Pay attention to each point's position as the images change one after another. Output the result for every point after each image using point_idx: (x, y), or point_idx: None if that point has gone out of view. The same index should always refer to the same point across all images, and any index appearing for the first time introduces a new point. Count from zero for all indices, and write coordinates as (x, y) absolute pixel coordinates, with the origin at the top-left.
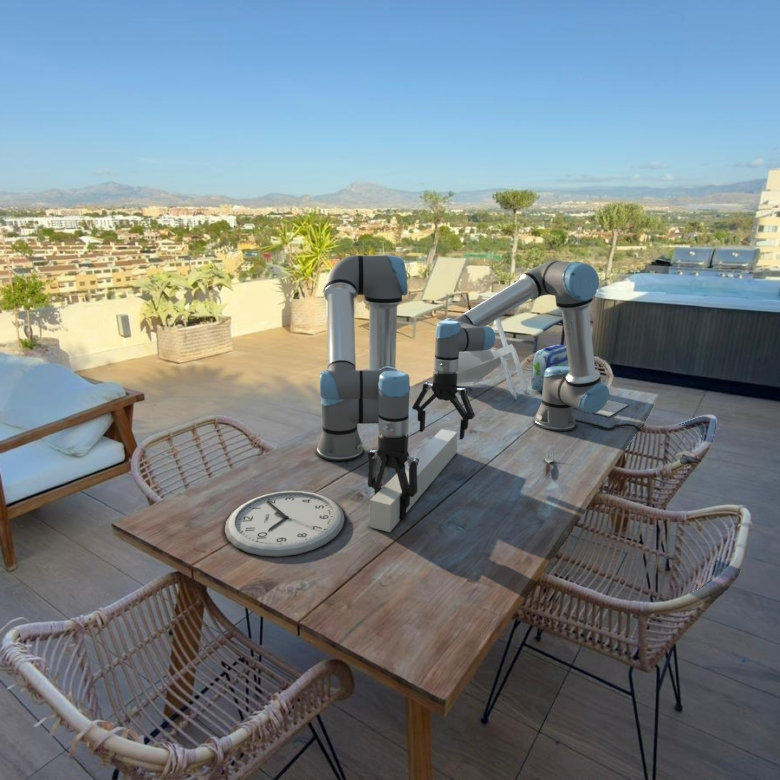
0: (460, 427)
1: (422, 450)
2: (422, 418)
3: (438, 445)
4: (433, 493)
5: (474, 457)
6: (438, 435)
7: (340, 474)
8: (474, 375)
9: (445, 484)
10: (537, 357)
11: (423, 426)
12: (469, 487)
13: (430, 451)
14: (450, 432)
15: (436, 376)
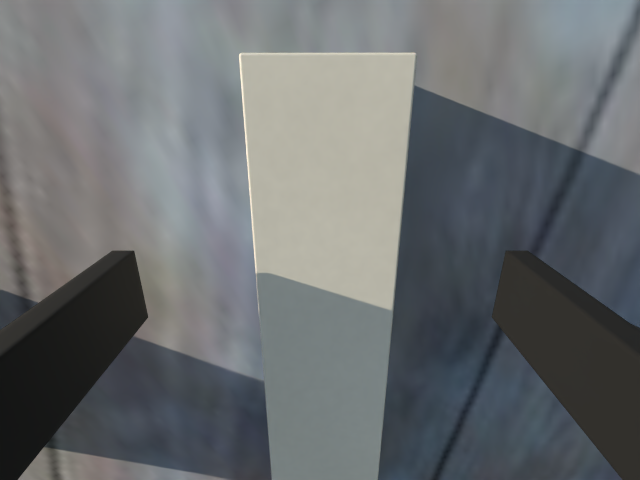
0: (564, 404)
1: (284, 474)
2: (60, 421)
3: (345, 388)
4: (390, 465)
5: (503, 81)
6: (277, 229)
7: (42, 474)
8: None
9: (413, 404)
10: None
11: (118, 305)
12: (508, 391)
13: (330, 469)
14: (352, 106)
15: None
